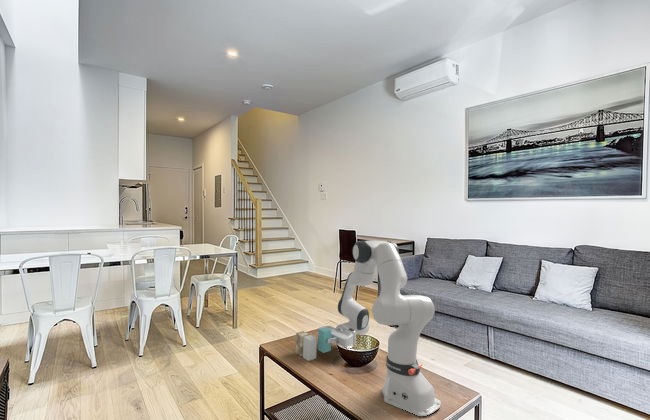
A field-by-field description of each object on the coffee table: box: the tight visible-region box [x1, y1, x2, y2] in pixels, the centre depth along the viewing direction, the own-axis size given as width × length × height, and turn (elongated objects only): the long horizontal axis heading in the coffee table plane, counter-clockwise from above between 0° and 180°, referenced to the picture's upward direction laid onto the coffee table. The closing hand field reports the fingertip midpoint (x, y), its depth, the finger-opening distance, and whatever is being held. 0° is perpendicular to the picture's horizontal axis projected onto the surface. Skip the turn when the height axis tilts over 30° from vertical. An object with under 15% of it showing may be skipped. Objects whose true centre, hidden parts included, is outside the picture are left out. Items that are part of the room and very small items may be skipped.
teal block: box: [317, 327, 332, 354], centre depth 163 cm, size 4×4×10 cm
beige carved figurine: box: [295, 331, 310, 357], centre depth 166 cm, size 4×4×10 cm
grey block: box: [302, 334, 318, 362], centre depth 161 cm, size 4×4×10 cm
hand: (323, 339), depth 162 cm, fingers closed on teal block, 4 cm apart
